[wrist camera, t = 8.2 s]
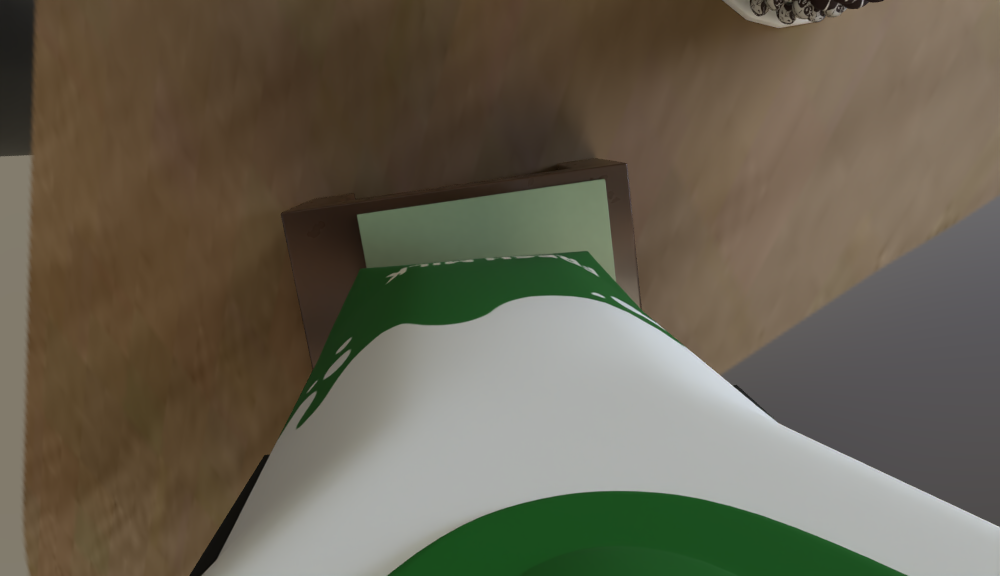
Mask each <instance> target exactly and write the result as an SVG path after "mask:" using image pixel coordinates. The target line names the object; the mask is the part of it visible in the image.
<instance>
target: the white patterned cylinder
mask: <svg viewBox="0 0 1000 576" xmlns="http://www.w3.org/2000/svg"><path fill="white" fill-rule="evenodd" d="M723 1H724V2H725V3H726V4H727V5H729V6H730V7H731V8H732V9H734V10H735V11H736V12H737V13H739V14H740V15H741V16H742V17H743V18H745V19H746V20H749V21H753V22H757V23H760V24H764V25H768V26H772V27H776V28H782V27H788V26H794V25H800V24H806V23H811V22H820V21H821V20H823V19H824V18H825V16H828V17H836V16H839V15H840V14H841V13H842V12H844V11H845V10H846V9H847V8H848V9H858V8H861V7H863V6H865V5H866V4H867V3H868V2H881V1H884V0H723Z"/></svg>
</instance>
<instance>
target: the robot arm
mask: <svg viewBox="0 0 1000 576" xmlns="http://www.w3.org/2000/svg"><path fill="white" fill-rule="evenodd" d="M733 387H735V388H736V389H737V390H738V391H739V392H741V393H742V394H743V395H744V396H745V397H747V398H748V399H749V400H750V401H752V402H753V403H754V404H755V405H756V406H758V407H759V408H760V409H761V410H763V411H764V412H765V413H766V414H768V413H767V412H766V411H765V410H764V409H763V408H761V407H760V406H759V405H758V404H757V403H756V402H755V401H754V400H753V399H752V398H750V397H749V396H748V395H747V394H746V393H745V392H744V391H743V390H742V389H741V388H739V387H738V386H737V385H733ZM768 415H769V414H768ZM769 416H770V415H769ZM770 417H771V416H770ZM771 418H772V419H774V418H773V417H771ZM774 420H775V419H774ZM775 421H776V420H775ZM776 422H777V421H776ZM777 423H778V422H777ZM269 456H270V455H264V457H263V459H262V460H261V462H260V463H259V465H258V467H257V468H256V470H255V471H254V473H253V475H252V476H251V478H250V479H249V481H248V483H247V484H246V486H245V487H244V489H243V491H242V492H241V494H240V495H239V497H238V499H237V500H236V502H235V503H234V505H233V507H232V508H231V510H230V511H229V513H228V515H227V516H226V518H225V519H224V521H223V523H222V524H221V526H220V527H219V529H218V531H217V532H216V534H215V535H214V537H213V539H212V540H211V542H210V543H209V545H208V547H207V548H206V550H205V551H204V553H203V555H202V556H201V558H200V560H199V561H198V563H197V564H196V566H195V568H194V569H193V571H192V572H191V574H190V576H202V574H203V573H204V572H205V571H206V570H207V569H208V568H209V567H210V566H211V565H212V564H213V563H214V562H215V561H216V560H217V558H218V556H219V554H220V552H221V550H222V549H223V547H224V545H225V543H226V541H227V539H228V537H229V535H230V533H231V531H232V529H233V527H234V525H235V523H236V521H237V519H238V517H239V515H240V513H241V511H242V509H243V507H244V505H245V503H246V501H247V499H248V497H249V496H250V494H251V492H252V490H253V488H254V486H255V484H256V482H257V480H258V478H259V476H260V474H261V472H262V470H263V468H264V466H265V464H266V462H267V460H268V458H269Z"/></svg>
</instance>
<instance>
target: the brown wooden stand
mask: <svg viewBox="0 0 1000 576" xmlns="http://www.w3.org/2000/svg"><path fill="white" fill-rule="evenodd" d="M557 167H558V170H557V171H550V172H543V173H536V174H529V175H522V176H515V177H508V178H501V179H495V180H488V181H481V182H474V183H467V184H460V185H453V186H446V187H439V188H432V189H425V190H419V191H412V192H405V193H398V194H391V195H384V196H377V197H370V198H363V199H356V200H355V196H354V193H351V194H344V195H337V196H330V197H323V198H316V199H313V200H310V201H308V202H306V203H303V204H301V205H298V206H296V207H294V208H291V209H289V210H287V211H285V212H282V213H281V218H282V222H283V227H284V232H285V237H286V242H287V247H288V251H289V256H290V261H291V266H292V271H293V276H294V281H295V285H296V290H297V295H298V300H299V305H300V310H301V314H302V319H303V324H304V329H305V334H306V339H307V343H308V348H309V353H310V358H311V363H312V368H313V369H314V367H315V365H316V363H317V361H318V359H319V357H320V355H321V352H322V350H323V348H324V345H325V343H326V341H327V338H328V336H329V334H330V332H331V330H332V327H333V325H334V323H335V321H336V319H337V317H338V315H339V313H340V310H341V308H342V306H343V304H344V302H345V300H346V298H347V296H348V293H349V291H350V289H351V287H352V285H353V283H354V281H355V279H356V277H357V274H358V272H359V270H360V269H362V268H374V267H387V266H399V265H412V264H423V263H434V262H445V261H457V260H469V259H479V258H494V257H509V256H523V255H539V254H553V253H566V252H579V251H588V252H589V253H590V254H591V255H592V256H593V258H594V259H595V260H596V261H597V262H598V263H599V264H600V265H601V266H602V267H603V269H604V270H605V271H606V272H607V273H608V274H609V275H610V276H611V277H612V278H613V279H614V280H615V282H616V283H617V284H618V285H619V286H620V287H621V288H622V289H623V290H624V291H625V292H626V293H627V295H628V296H629V297H630V298H631V299H632V300H633V301H634V302H635V303H636V304H637V305H638V306H639V308H640V309H641V310H642V308H641V298H640V288H639V278H638V268H637V258H636V248H635V238H634V228H633V218H632V208H631V198H630V188H629V178H628V168H627V163H623V162H617V161H610V160H604V159H598V158H594V159H587V160H580V161H573V162H566V163H559V164H558V165H557Z"/></svg>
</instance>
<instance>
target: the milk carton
mask: <svg viewBox="0 0 1000 576" xmlns="http://www.w3.org/2000/svg"><path fill="white" fill-rule="evenodd" d="M202 576H1000V527H998V526H996V525H994V524H992V523H990V522H988V521H985V520H983V519H981V518H979V517H976V516H975V515H973V514H970V513H968V512H966V511H964V510H962V509H960V508H958V507H955V506H953V505H951V504H949V503H947V502H945V501H943V500H940V499H938V498H936V497H934V496H932V495H930V494H928V493H925V492H923V491H921V490H919V489H917V488H915V487H913V486H910V485H908V484H906V483H904V482H902V481H900V480H898V479H895V478H893V477H891V476H889V475H887V474H885V473H882V472H881V471H879V470H876V469H874V468H872V467H870V466H868V465H865V464H864V463H861V462H859V461H857V460H855V459H853V458H851V457H849V456H846V455H844V454H842V453H840V452H838V451H836V450H834V449H831V448H829V447H827V446H825V445H823V444H821V443H819V442H817V441H814V440H812V439H810V438H808V437H806V436H804V435H801V434H800V433H797V432H795V431H793V430H791V429H789V428H787V427H785V426H783V425H781V424H779V423H777V422H776V421H775V420H774V419H772V418H771V417H770V416H769V415H768V414H766V413H765V412H764V411H763V410H761V409H760V408H759V407H758V406H756V405H755V404H754V403H753V402H752V401H750V400H749V399H748V398H747V397H745V396H744V395H743V394H742V393H741V392H739V391H738V390H737V389H736V388H735V387H733V386H732V385H731V384H730V383H729V382H727V381H726V380H725V379H724V378H722V377H721V376H720V375H719V374H718V373H716V372H715V371H714V370H713V369H712V368H710V367H709V366H708V365H707V364H706V363H704V362H703V361H702V360H701V359H699V358H698V357H697V356H696V355H695V354H693V353H692V352H691V351H690V350H689V349H687V348H686V347H685V346H684V345H683V344H681V343H680V342H679V341H678V340H677V339H675V338H674V337H673V336H672V335H671V334H669V333H668V332H667V331H666V330H664V329H663V328H662V327H661V326H660V325H658V324H657V323H656V322H655V321H654V320H652V319H651V318H650V317H649V316H648V315H646V314H645V313H644V312H643V311H642V310H641V309H640V308H639V306H638V305H637V304H636V303H635V302H634V301H633V300H632V299H631V298H630V297H629V296H628V295H627V293H626V292H625V291H624V290H623V289H622V288H621V287H620V286H619V285H618V284H617V283H616V282H615V280H614V279H613V278H612V277H611V276H610V275H609V274H608V273H607V272H606V271H605V270H604V269H603V267H602V266H601V265H600V264H599V263H598V262H597V261H596V260H595V259H594V258H593V256H592V255H591V254H590V253H589V252H588V251H579V252H566V253H553V254H539V255H523V256H509V257H494V258H479V259H469V260H457V261H445V262H434V263H423V264H412V265H399V266H387V267H374V268H362V269H360V270H359V272H358V274H357V277H356V279H355V281H354V283H353V285H352V287H351V289H350V291H349V293H348V296H347V298H346V300H345V302H344V304H343V306H342V308H341V310H340V313H339V315H338V317H337V319H336V321H335V323H334V325H333V327H332V330H331V332H330V334H329V336H328V338H327V341H326V343H325V345H324V348H323V350H322V352H321V355H320V357H319V359H318V361H317V363H316V365H315V367H314V369H313V371H312V373H311V375H310V377H309V379H308V381H307V383H306V385H305V387H304V389H303V391H302V393H301V395H300V397H299V399H298V401H297V403H296V405H295V407H294V409H293V411H292V413H291V415H290V416H289V418H288V420H287V422H286V424H285V426H284V428H283V430H282V432H281V434H280V436H279V438H278V440H277V442H276V444H275V446H274V448H273V450H272V452H271V454H270V456H269V458H268V460H267V462H266V464H265V466H264V468H263V470H262V472H261V474H260V476H259V478H258V480H257V482H256V484H255V486H254V488H253V490H252V492H251V494H250V496H249V497H248V499H247V501H246V503H245V505H244V507H243V509H242V511H241V513H240V515H239V517H238V519H237V521H236V523H235V525H234V527H233V529H232V531H231V533H230V535H229V537H228V539H227V541H226V543H225V545H224V547H223V549H222V550H221V552H220V554H219V556H218V558H217V560H216V561H215V562H214V563H213V564H212V565H211V566H210V567H209V568H208V569H207V570H206V571H205V572H204V573H203V574H202Z"/></svg>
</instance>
